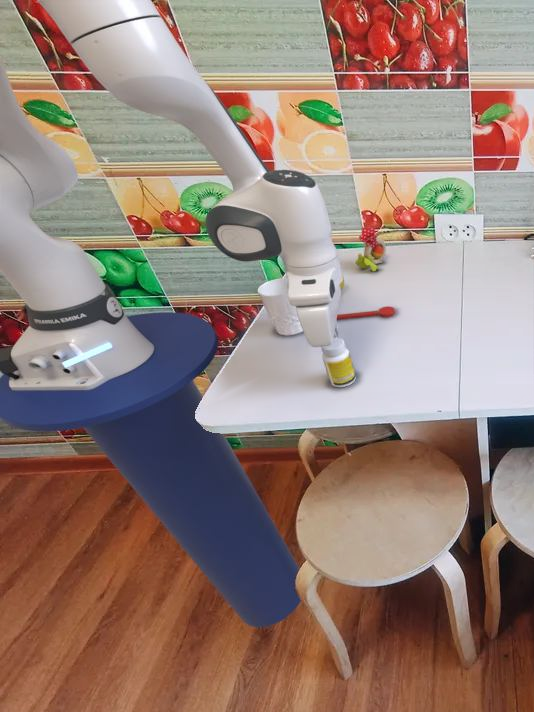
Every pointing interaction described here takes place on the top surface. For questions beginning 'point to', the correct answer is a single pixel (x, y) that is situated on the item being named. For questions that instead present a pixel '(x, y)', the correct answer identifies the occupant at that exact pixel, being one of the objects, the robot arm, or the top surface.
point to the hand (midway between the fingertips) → (333, 339)
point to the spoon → (369, 313)
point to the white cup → (280, 306)
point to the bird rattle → (371, 249)
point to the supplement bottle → (338, 363)
